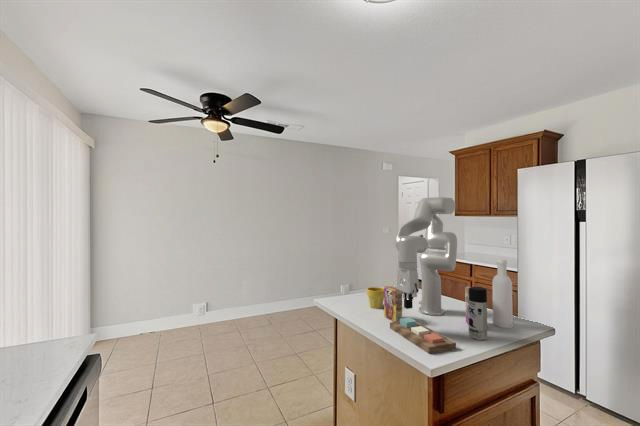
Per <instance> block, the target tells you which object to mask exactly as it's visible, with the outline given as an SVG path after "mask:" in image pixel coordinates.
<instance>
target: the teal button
mask: <svg viewBox="0 0 640 426" xmlns="http://www.w3.org/2000/svg"><path fill="white" fill-rule="evenodd" d="M417 322H418V321H417V320H415V319H413V318H412V317H402V319H400V325H402V326H403V327H405V328H411V327H417Z"/></svg>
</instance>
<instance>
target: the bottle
mask: <svg viewBox="0 0 640 426" xmlns="http://www.w3.org/2000/svg"><path fill="white" fill-rule="evenodd" d="M496 260H497V261H496V264H497V265H496V266H497V269H496V270H497V274H496V275H494V276H493V278H492V281H491V282H492V283H491V286H492V290H491V291H492V324H493V326H495V327H499V328H502V329H512V328H514V317H513V308H514V307H513V282H512V280H511V278H510V277H509V276H508V274H507V271H508V269H507V265H508V263H507V259H503V258H497V259H496Z"/></svg>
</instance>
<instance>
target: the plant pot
mask: <svg viewBox="0 0 640 426" xmlns="http://www.w3.org/2000/svg"><path fill="white" fill-rule="evenodd" d="M366 295H367V298H368V304H369V307H370V308H372V309H381V308H383V306H384V287H378V286H377V287H376V286H370V287H367V288H366Z"/></svg>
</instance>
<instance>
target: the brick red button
mask: <svg viewBox="0 0 640 426" xmlns="http://www.w3.org/2000/svg"><path fill="white" fill-rule="evenodd" d="M424 339H425V340H427V341H428V342H430V343H432V344H434V343H441V342H444V340H443V338H442V337H440V336H439V335H437V334H435V333H433V334H426V335H424Z"/></svg>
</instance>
